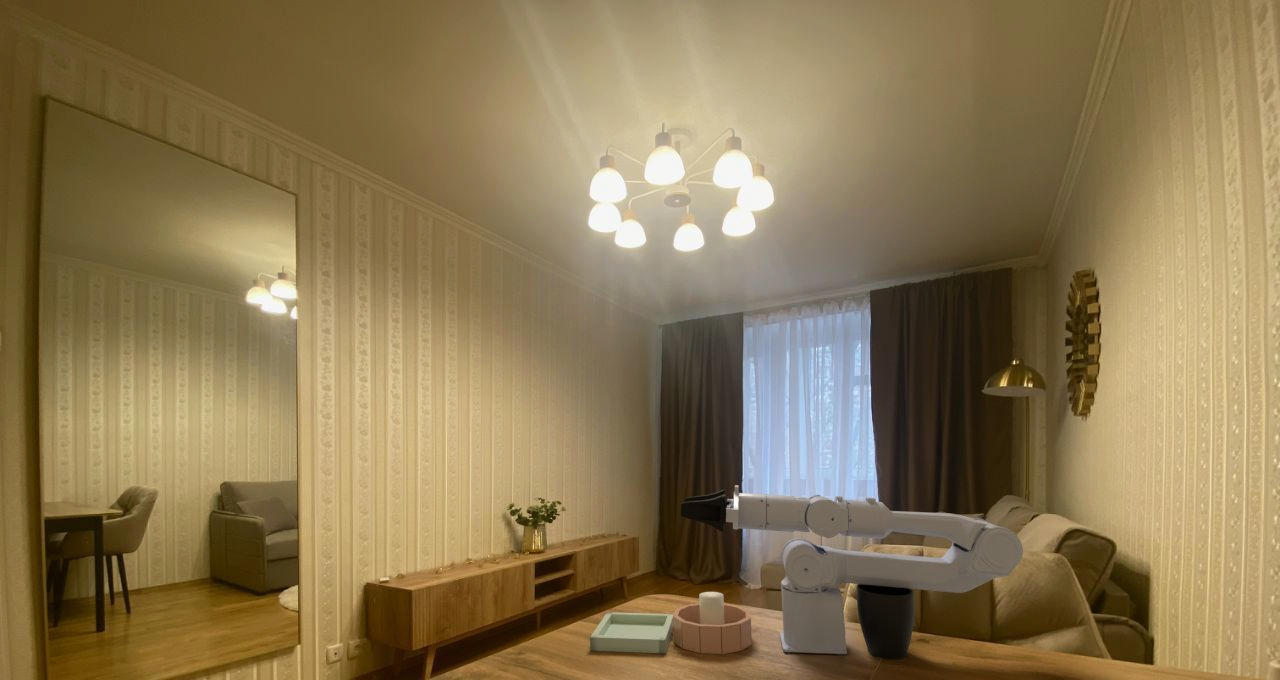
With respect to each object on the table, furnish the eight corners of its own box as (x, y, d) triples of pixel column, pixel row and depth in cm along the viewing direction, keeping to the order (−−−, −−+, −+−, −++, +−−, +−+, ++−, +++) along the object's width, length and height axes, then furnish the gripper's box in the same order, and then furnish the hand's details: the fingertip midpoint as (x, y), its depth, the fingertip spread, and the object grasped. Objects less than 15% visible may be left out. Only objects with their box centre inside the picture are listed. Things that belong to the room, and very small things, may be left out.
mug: (904, 637, 100) (901, 577, 101) (922, 666, 88) (919, 597, 89) (851, 633, 101) (849, 574, 102) (863, 661, 90) (860, 593, 91)
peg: (725, 635, 101) (723, 592, 102) (724, 644, 97) (723, 598, 98) (701, 635, 102) (699, 591, 103) (699, 643, 98) (698, 598, 99)
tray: (674, 626, 106) (673, 614, 107) (665, 653, 94) (665, 639, 94) (607, 623, 108) (607, 612, 109) (590, 650, 96) (590, 637, 96)
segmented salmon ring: (750, 628, 105) (749, 603, 105) (752, 655, 92) (751, 627, 93) (678, 625, 107) (677, 601, 107) (670, 652, 94) (669, 624, 95)
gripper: (763, 483, 108) (687, 479, 110) (767, 491, 93) (680, 486, 96) (762, 524, 107) (685, 519, 109) (767, 538, 92) (678, 532, 95)
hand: (683, 506), depth 102 cm, fingers open, 7 cm apart
